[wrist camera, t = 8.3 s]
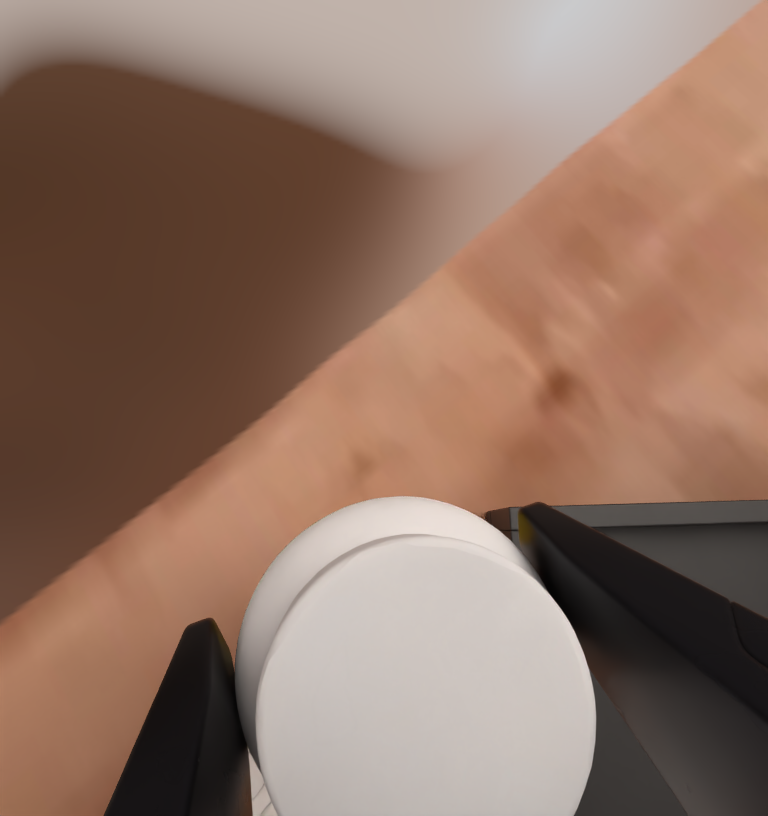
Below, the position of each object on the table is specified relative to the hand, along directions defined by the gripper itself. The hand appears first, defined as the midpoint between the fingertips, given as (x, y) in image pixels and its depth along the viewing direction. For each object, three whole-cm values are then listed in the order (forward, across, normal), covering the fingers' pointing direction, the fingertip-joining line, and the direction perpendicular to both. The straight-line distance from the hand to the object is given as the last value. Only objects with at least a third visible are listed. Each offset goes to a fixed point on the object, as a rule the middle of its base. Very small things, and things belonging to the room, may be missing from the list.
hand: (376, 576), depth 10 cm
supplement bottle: (+4, 0, +6) cm, 7 cm away
